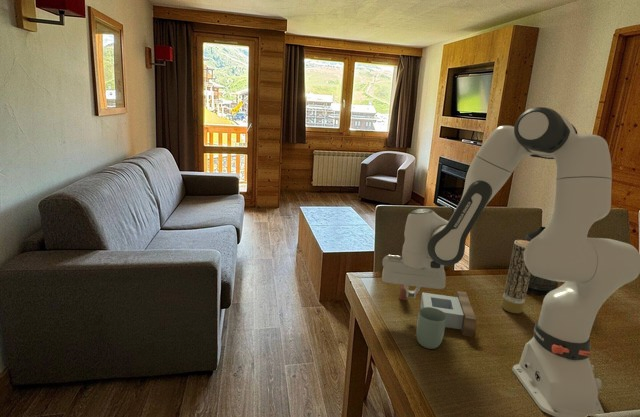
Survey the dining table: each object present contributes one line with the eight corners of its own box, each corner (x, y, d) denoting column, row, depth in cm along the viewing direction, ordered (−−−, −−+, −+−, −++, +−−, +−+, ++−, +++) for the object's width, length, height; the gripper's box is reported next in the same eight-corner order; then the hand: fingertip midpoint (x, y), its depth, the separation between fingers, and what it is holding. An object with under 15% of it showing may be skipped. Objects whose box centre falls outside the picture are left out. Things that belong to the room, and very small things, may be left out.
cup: (437, 356, 105) (442, 324, 103) (410, 345, 109) (415, 315, 107) (444, 342, 112) (449, 312, 109) (419, 333, 116) (423, 304, 113)
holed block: (461, 329, 119) (463, 315, 118) (422, 323, 121) (424, 309, 120) (455, 310, 131) (457, 297, 129) (420, 305, 133) (422, 292, 131)
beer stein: (531, 275, 163) (543, 220, 157) (573, 297, 145) (588, 236, 139) (501, 279, 158) (512, 222, 151) (540, 301, 140) (555, 238, 134)
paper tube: (524, 315, 130) (540, 248, 123) (503, 312, 131) (517, 245, 124) (519, 306, 136) (533, 241, 130) (499, 303, 137) (512, 238, 131)
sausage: (407, 300, 135) (410, 277, 133) (398, 299, 136) (401, 276, 133) (407, 296, 138) (409, 274, 136) (398, 295, 139) (401, 273, 136)
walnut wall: (473, 336, 116) (476, 319, 114) (462, 335, 116) (465, 317, 115) (463, 307, 133) (466, 292, 131) (454, 306, 133) (457, 291, 132)
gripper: (383, 257, 120) (379, 297, 123) (449, 265, 117) (443, 305, 120) (383, 250, 126) (379, 288, 129) (446, 257, 123) (440, 296, 126)
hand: (410, 296), depth 125 cm, fingers closed
